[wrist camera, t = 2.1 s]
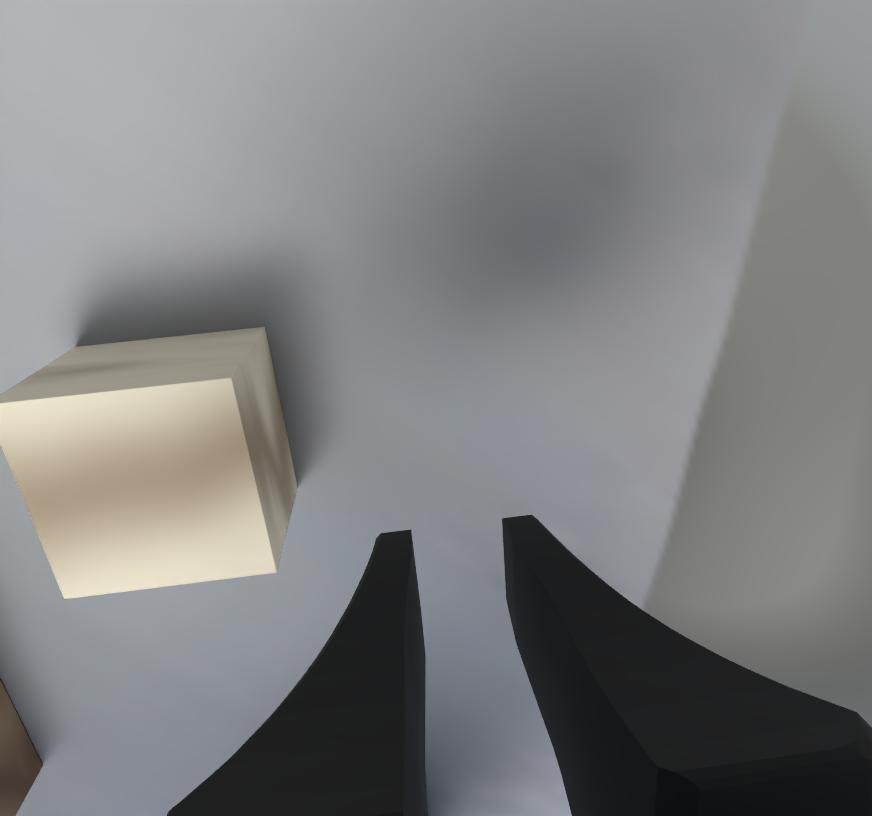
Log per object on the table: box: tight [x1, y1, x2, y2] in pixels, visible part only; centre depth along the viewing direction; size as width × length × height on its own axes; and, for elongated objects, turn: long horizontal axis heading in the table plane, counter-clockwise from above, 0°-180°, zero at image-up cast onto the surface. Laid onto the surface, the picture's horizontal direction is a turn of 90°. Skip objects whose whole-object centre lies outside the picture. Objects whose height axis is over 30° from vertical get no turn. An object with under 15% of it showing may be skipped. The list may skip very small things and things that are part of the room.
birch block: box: [0, 327, 297, 599], centre depth 18 cm, size 6×6×5 cm
